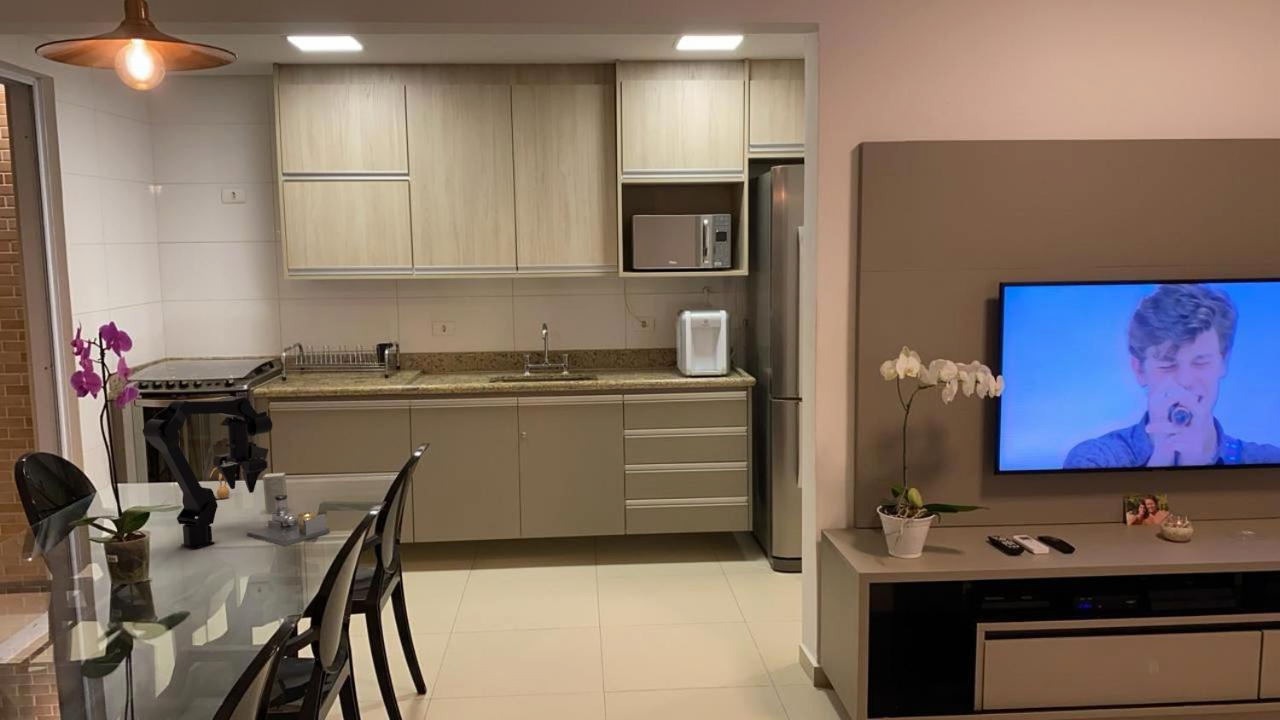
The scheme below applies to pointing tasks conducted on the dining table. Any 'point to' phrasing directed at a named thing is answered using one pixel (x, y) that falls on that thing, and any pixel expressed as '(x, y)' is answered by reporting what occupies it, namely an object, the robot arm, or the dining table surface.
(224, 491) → the figurine
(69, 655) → the dining table surface
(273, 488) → the skincare box
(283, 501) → the ram
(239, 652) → the dining table surface
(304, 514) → the cylinder
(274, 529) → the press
